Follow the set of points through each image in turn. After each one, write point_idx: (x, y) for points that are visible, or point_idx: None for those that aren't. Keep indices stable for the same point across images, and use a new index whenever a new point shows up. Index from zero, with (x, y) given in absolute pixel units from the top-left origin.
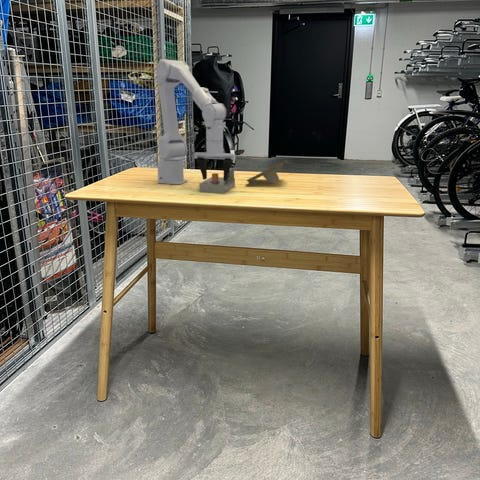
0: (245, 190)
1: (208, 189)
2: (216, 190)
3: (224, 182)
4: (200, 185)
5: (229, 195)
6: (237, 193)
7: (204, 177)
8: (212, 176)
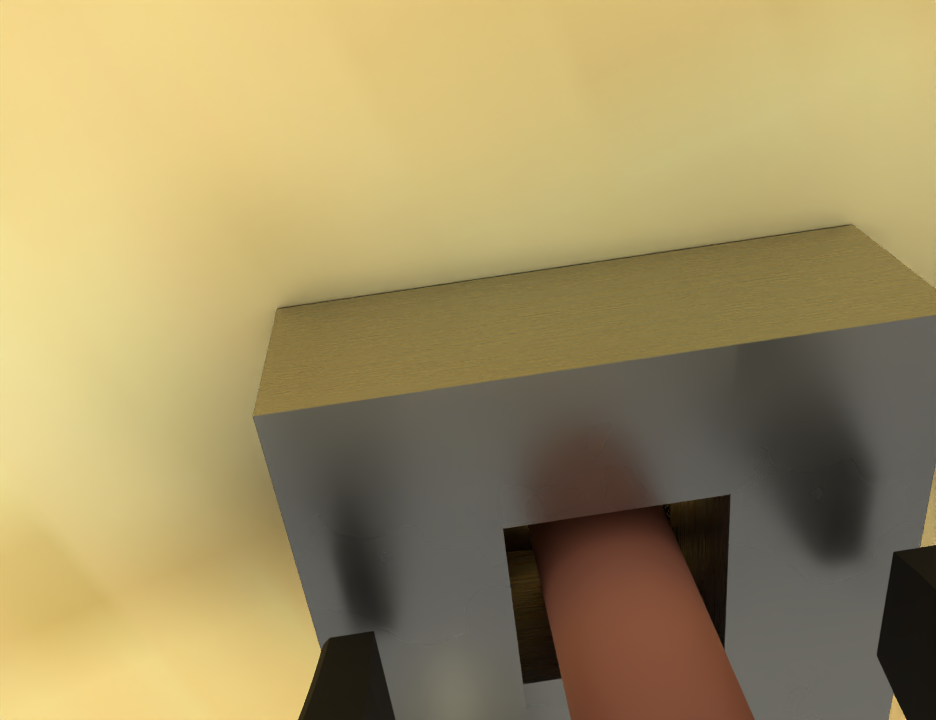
0: (78, 697)
1: (658, 286)
2: (457, 313)
3: (410, 661)
4: (902, 292)
5: (69, 213)
6: (44, 451)
7: (929, 581)
8: (716, 668)
